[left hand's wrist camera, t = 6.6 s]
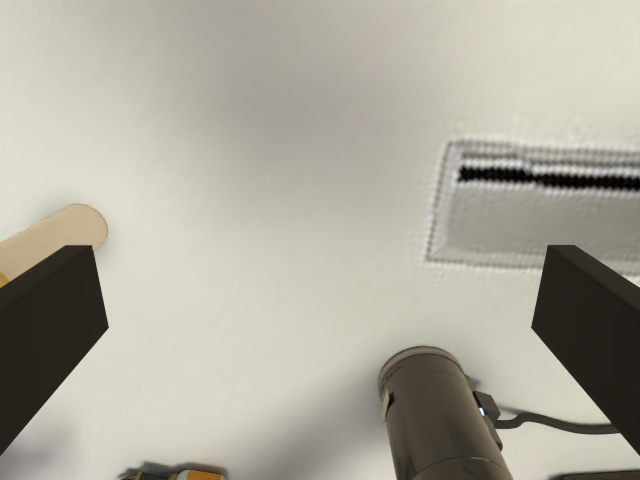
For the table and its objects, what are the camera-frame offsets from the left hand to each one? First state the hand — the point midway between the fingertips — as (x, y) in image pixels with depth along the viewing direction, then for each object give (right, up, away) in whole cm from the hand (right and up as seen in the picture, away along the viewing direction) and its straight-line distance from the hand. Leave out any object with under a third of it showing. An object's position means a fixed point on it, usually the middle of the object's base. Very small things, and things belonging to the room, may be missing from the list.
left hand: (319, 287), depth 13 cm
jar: (-23, +3, +29) cm, 37 cm away
